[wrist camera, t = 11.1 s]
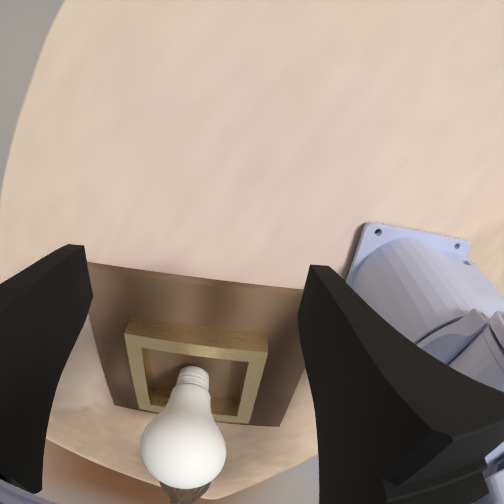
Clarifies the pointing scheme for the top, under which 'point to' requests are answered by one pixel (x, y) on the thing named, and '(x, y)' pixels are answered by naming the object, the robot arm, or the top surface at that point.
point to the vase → (184, 493)
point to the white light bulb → (185, 435)
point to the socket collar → (197, 344)
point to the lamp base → (201, 314)
